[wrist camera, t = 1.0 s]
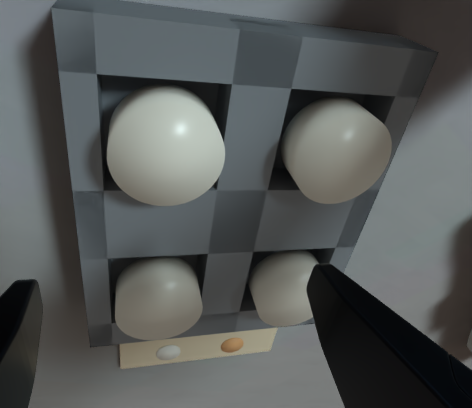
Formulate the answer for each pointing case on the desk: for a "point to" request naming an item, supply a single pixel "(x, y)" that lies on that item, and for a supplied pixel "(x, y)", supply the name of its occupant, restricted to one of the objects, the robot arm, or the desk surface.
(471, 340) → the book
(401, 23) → the desk surface
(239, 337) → the pattern card
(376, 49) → the button board
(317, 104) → the button
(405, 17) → the desk surface
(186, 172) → the button
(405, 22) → the desk surface
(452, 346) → the desk surface
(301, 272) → the button
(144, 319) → the button
